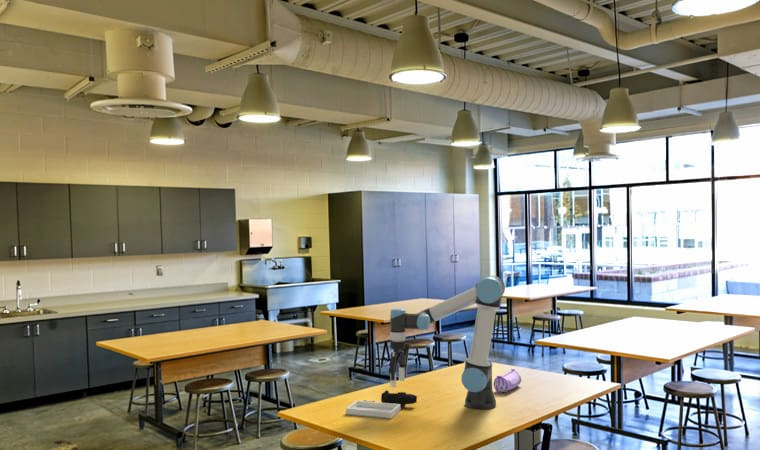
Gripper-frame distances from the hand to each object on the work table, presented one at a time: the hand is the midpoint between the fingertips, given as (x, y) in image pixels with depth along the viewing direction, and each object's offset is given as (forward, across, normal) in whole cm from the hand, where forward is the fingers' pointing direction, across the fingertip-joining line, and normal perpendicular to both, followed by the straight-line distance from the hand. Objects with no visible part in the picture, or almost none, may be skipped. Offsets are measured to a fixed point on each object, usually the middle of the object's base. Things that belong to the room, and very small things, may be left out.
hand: (397, 383), depth 295 cm
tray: (+11, +14, -7) cm, 19 cm away
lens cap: (+12, +1, -14) cm, 19 cm away
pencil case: (+11, -50, +47) cm, 70 cm away
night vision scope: (+11, 0, +1) cm, 11 cm away
